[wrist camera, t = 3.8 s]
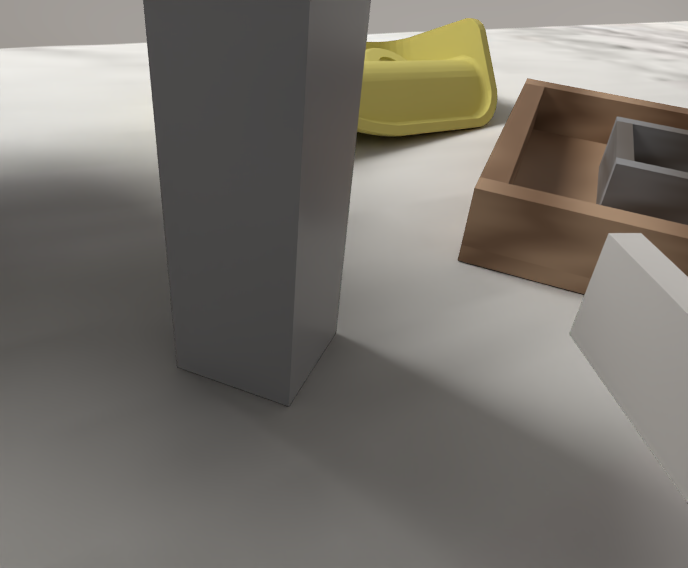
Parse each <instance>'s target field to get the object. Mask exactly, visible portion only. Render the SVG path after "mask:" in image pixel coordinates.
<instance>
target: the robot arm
mask: <svg viewBox="0 0 688 568" xmlns="http://www.w3.org/2000/svg"><path fill="white" fill-rule="evenodd" d="M569 334H570V336H571V337H572V339H573V340H574V342H575V343H576V344H577V346H578V347H579V349H580V350H581V352H582V353H583V354H584V356H585V357H586V359H587V360H588V362H589V363H590V364H591V366H592V367H593V369H594V370H595V372H596V373H597V374H598V376H599V377H600V379H601V380H602V382H603V383H604V384H605V386H606V387H607V389H608V390H609V392H610V393H611V395H612V396H613V397H614V399H615V400H616V402H617V403H618V405H619V406H620V407H621V409H622V410H623V412H624V413H625V415H626V416H627V417H628V419H629V420H630V422H631V423H632V425H633V426H634V427H635V429H636V430H637V432H638V433H639V435H640V436H641V437H642V439H643V440H644V442H645V443H646V445H647V446H648V447H649V449H650V450H651V452H652V453H653V455H654V456H655V457H656V459H657V460H658V462H659V463H660V465H661V466H662V467H663V469H664V470H665V472H666V473H667V475H668V476H669V477H670V479H671V480H672V482H673V483H674V485H675V486H676V487H677V489H678V490H679V492H680V493H681V495H682V496H683V497H684V499H685V500H686V502H687V503H688V276H686V275H685V274H684V273H683V272H682V271H681V270H680V269H679V268H678V267H677V266H676V265H675V264H674V263H673V262H672V261H670V260H669V259H668V258H667V257H666V256H665V255H664V254H663V253H662V252H661V251H660V250H659V249H658V248H657V247H656V246H654V245H653V244H652V243H651V242H650V241H649V240H648V239H647V238H646V237H645V236H644V235H643V234H642V233H608V236H607V238H606V241H605V243H604V246H603V249H602V251H601V254H600V256H599V259H598V261H597V264H596V267H595V269H594V272H593V274H592V277H591V279H590V282H589V285H588V287H587V290H586V292H585V295H584V297H583V300H582V302H581V305H580V308H579V310H578V313H577V315H576V318H575V320H574V323H573V326H572V328H571V331H570V333H569Z"/></svg>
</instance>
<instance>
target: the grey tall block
mask: <svg viewBox="0 0 688 568" xmlns="http://www.w3.org/2000/svg"><path fill="white" fill-rule="evenodd" d="M143 3H144V14H145V24H146V35H147V46H148V57H149V68H150V79H151V90H152V101H153V111H154V122H155V133H156V144H157V155H158V166H159V176H160V187H161V198H162V209H163V220H164V231H165V241H166V252H167V263H168V274H169V285H170V296H171V306H172V317H173V328H174V339H175V350H176V361H177V367H178V368H181V369H184V370H187V371H190V372H192V373H195V374H198V375H201V376H204V377H207V378H210V379H212V380H215V381H218V382H221V383H224V384H227V385H229V386H232V387H235V388H238V389H241V390H244V391H246V392H249V393H252V394H255V395H258V396H261V397H263V398H266V399H269V400H272V401H275V402H278V403H280V404H283V405H286V406H290V404H291V402H292V401H293V399H294V398H295V396H296V395H297V393H298V391H299V390H300V388H301V387H302V385H303V384H304V382H305V380H306V379H307V377H308V376H309V374H310V373H311V371H312V369H313V368H314V366H315V365H316V363H317V362H318V360H319V358H320V357H321V355H322V354H323V352H324V350H325V349H326V347H327V346H328V344H329V343H330V341H331V339H332V338H333V336H334V335H335V333H336V328H337V318H338V309H339V299H340V290H341V280H342V270H343V261H344V251H345V242H346V232H347V223H348V213H349V204H350V194H351V184H352V175H353V165H354V156H355V146H356V137H357V127H358V118H359V108H360V98H361V89H362V79H363V70H364V60H365V51H366V41H367V31H368V22H369V12H370V3H371V0H143Z"/></svg>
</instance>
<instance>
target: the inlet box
mask: <svg viewBox="0 0 688 568" xmlns="http://www.w3.org/2000/svg"><path fill="white" fill-rule="evenodd" d="M608 233H642V234H643V235H644V236H645V237H646V238H647V239H648V240H649V241H650V242H651V243H652V244H653V245H654V246H656V247H657V248H658V249H659V250H660V251H661V252H662V253H663V254H664V255H665V256H666V257H667V258H668V259H669V260H670V261H672V262H673V263H674V264H675V265H676V266H677V267H678V268H679V269H680V270H681V271H682V272H683V273H684V274H685V275H686V276H688V109H687V108H681V107H676V106H671V105H666V104H660V103H655V102H650V101H644V100H639V99H634V98H628V97H623V96H618V95H613V94H607V93H602V92H597V91H591V90H586V89H581V88H575V87H570V86H565V85H559V84H554V83H549V82H544V81H538V80H533V79H528V78H527V80H526V82H525V84H524V87H523V89H522V91H521V93H520V95H519V97H518V99H517V101H516V103H515V105H514V107H513V109H512V111H511V113H510V116H509V118H508V120H507V122H506V124H505V126H504V128H503V130H502V132H501V134H500V136H499V138H498V140H497V143H496V145H495V147H494V149H493V151H492V153H491V155H490V157H489V159H488V161H487V163H486V165H485V167H484V170H483V172H482V174H481V176H480V178H479V180H478V182H477V184H476V186H475V188H474V193H473V197H472V201H471V206H470V210H469V214H468V219H467V223H466V227H465V232H464V236H463V240H462V244H461V249H460V253H459V257H458V261H462V262H466V263H469V264H473V265H477V266H481V267H484V268H488V269H492V270H496V271H499V272H503V273H507V274H510V275H514V276H518V277H522V278H525V279H529V280H533V281H537V282H540V283H544V284H548V285H551V286H555V287H559V288H563V289H566V290H570V291H574V292H577V293H581V294H585V292H586V290H587V287H588V285H589V282H590V279H591V277H592V274H593V272H594V269H595V267H596V264H597V261H598V259H599V256H600V254H601V251H602V249H603V246H604V243H605V241H606V238H607V236H608Z"/></svg>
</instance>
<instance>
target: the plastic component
mask: <svg viewBox="0 0 688 568" xmlns="http://www.w3.org/2000/svg"><path fill="white" fill-rule="evenodd" d="M496 105H497V88H496V82H495V77H494V72H493V67H492V62H491V56H490V51H489V46H488V41H487V36H486V31H485V28H484V26H483V24H482V23H481V22H480V21H479V20H476V19H472V18H467V19H463V20H460V21H457V22H454V23H451V24H448V25H445V26H442V27H439V28H436V29H433V30H430V31H427V32H424V33H421V34H418V35H415V36H412V37H409V38H405V39H401V40H395V41H388V42H366V51H365V60H364V70H363V79H362V89H361V98H360V108H359V118H358V127H357V132H361V133H366V134H371V135H378V136H405V135H414V134H423V133H432V132H441V131H450V130H459V129H467V128H475V127H481V126H484V125H485V124H487V123H488V122H489V121H490V120H491V118H492V117H493V115H494V112H495V110H496Z"/></svg>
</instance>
